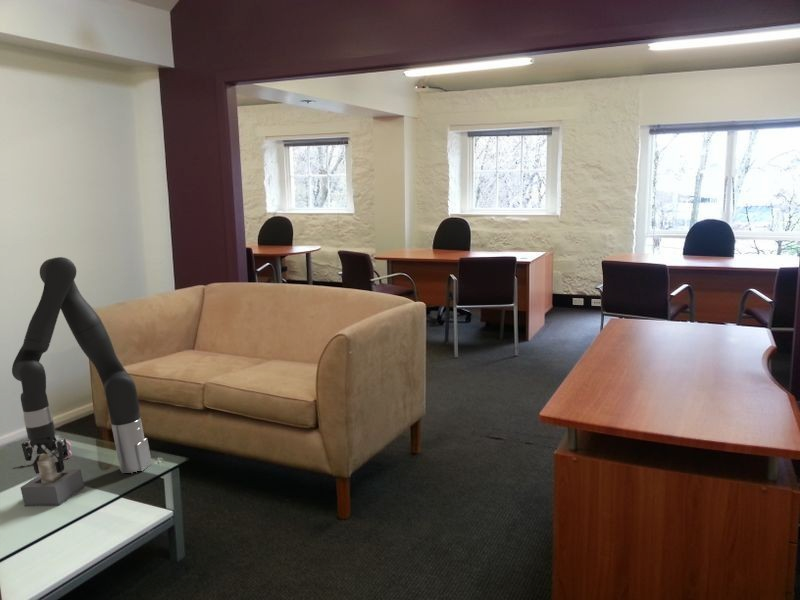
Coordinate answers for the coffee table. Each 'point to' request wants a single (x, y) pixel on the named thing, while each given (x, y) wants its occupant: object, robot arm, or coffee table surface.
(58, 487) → the well block
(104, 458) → the coffee table surface
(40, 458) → the decorative key
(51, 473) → the wooden peg
